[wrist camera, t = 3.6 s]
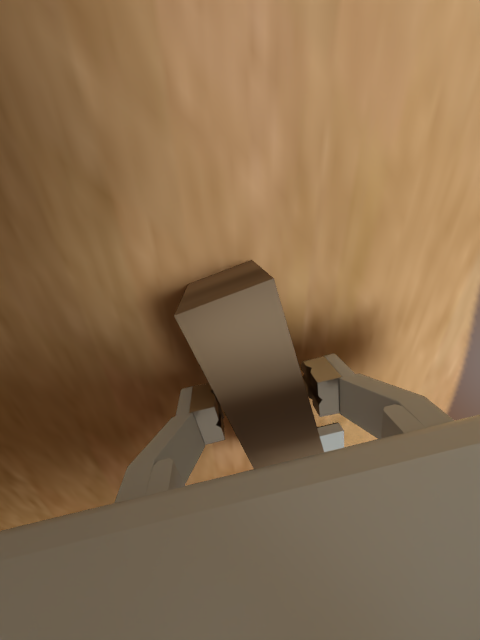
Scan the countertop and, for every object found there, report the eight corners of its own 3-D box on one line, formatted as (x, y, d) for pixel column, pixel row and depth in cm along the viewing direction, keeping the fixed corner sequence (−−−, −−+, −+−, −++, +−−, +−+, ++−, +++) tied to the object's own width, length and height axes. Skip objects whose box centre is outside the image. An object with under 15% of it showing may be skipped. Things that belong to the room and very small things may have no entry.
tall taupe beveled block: (188, 283, 10) (174, 316, 6) (251, 259, 10) (273, 278, 6) (256, 429, 14) (270, 501, 10) (301, 413, 14) (332, 481, 10)
